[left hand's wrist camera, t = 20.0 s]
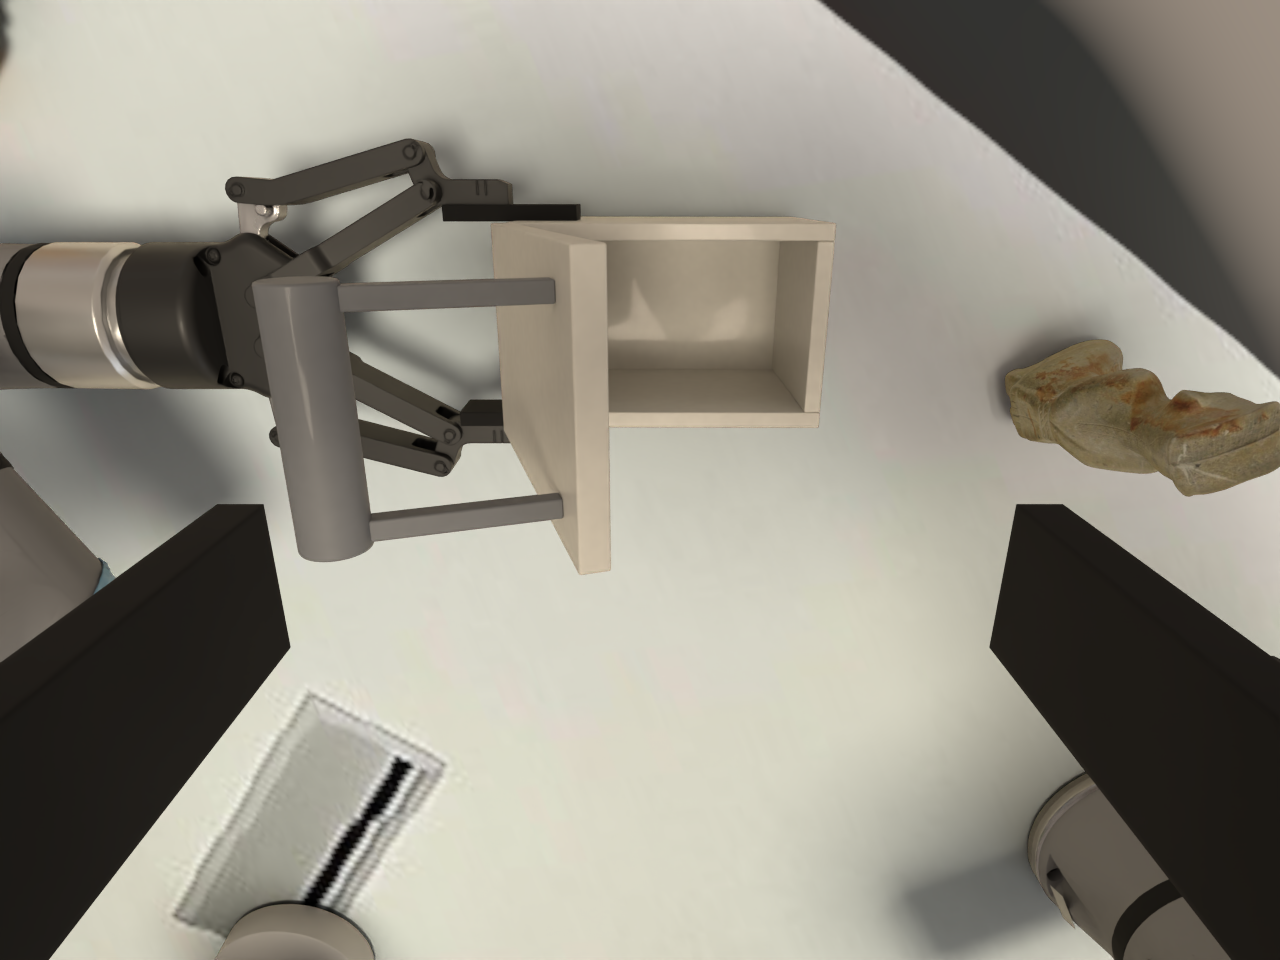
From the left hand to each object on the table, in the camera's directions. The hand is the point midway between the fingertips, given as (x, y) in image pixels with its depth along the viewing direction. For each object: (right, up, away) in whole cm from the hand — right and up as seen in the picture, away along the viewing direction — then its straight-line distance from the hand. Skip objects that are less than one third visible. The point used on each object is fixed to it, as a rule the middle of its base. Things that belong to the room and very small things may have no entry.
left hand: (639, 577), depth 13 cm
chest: (+1, +13, +33) cm, 36 cm away
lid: (-3, +6, +16) cm, 17 cm away
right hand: (-3, +10, +27) cm, 29 cm away
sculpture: (+26, +8, +35) cm, 44 cm away
